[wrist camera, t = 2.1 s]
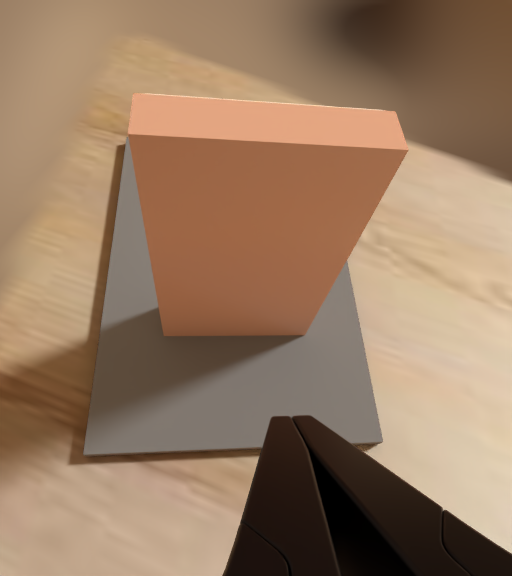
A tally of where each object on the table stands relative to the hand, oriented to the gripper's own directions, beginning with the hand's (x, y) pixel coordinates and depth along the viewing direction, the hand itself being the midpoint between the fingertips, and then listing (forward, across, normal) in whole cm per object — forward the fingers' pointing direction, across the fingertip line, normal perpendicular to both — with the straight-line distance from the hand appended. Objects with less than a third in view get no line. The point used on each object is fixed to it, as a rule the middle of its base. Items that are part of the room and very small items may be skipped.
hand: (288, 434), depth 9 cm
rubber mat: (+15, 0, 0) cm, 15 cm away
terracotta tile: (+12, 0, +2) cm, 12 cm away
